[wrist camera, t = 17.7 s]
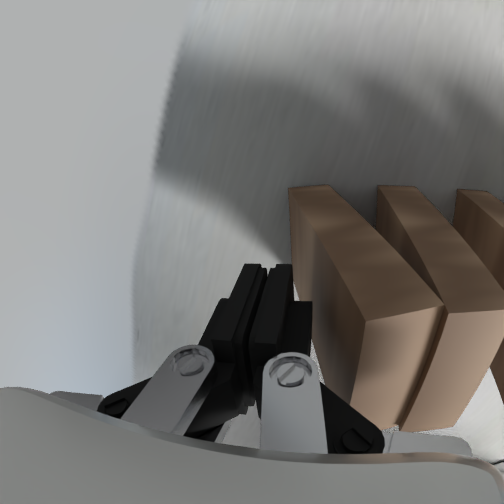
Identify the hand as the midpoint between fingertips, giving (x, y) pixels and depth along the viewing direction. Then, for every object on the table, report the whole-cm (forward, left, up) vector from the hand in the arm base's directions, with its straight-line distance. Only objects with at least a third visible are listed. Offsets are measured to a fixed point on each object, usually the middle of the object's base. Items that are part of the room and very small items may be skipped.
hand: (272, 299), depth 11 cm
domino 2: (-6, 0, -6) cm, 8 cm away
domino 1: (-1, 0, -6) cm, 6 cm away
